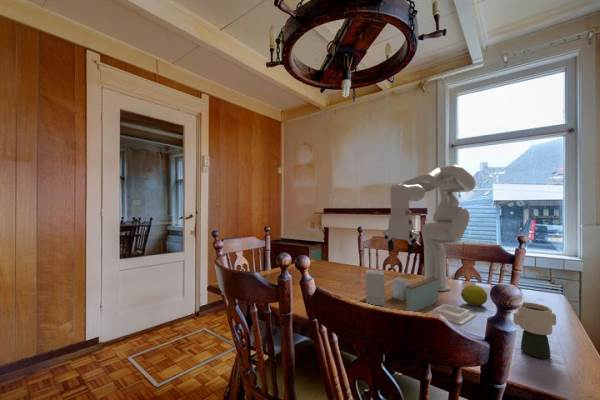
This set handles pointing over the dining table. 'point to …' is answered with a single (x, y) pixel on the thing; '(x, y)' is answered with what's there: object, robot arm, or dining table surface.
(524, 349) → the character mug
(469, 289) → the lemon
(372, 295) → the supplement box
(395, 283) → the block
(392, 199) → the robot arm
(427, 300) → the door board
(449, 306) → the cradle
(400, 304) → the dining table surface
